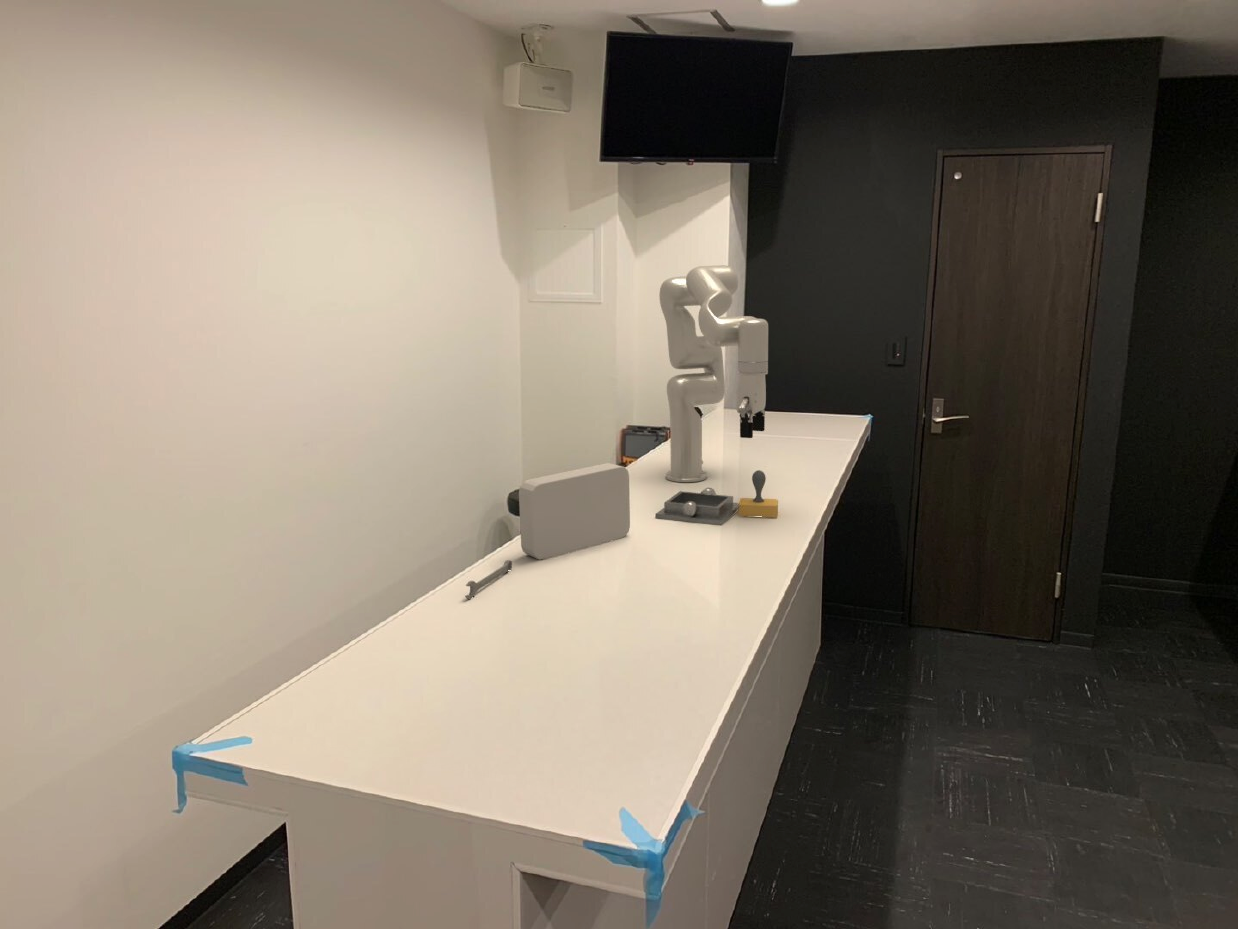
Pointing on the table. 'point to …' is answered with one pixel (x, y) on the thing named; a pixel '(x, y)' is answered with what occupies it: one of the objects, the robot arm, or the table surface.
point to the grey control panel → (574, 510)
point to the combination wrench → (488, 579)
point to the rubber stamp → (758, 500)
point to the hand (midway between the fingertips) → (752, 434)
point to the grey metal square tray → (699, 507)
